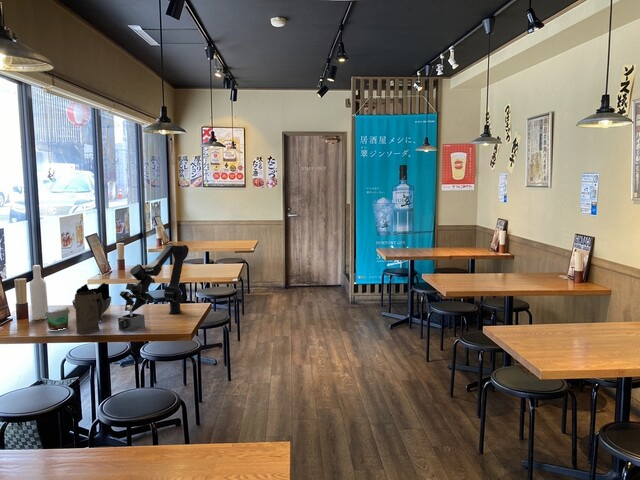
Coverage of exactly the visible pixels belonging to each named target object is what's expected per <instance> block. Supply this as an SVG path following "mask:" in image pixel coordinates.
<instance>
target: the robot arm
mask: <svg viewBox="0 0 640 480" xmlns="http://www.w3.org/2000/svg"><path fill="white" fill-rule="evenodd" d="M172 255H173V259H174V261H173V265H172V271H171V276H170V280H169V284H168V286H167V285H166V286H165V287H164V292H163V297H164V299H165V302H166V303H169V312H168V314H169V315H177V314H182V308H181V304H182V303H184V300H185V298H184V297H183V296H182V294H181V288H180V280H181V275H182V271H183V265H184V261H185V260H186V259H187V257H188V255H189V247H188V245H186V244H176V245H174V244H167V245H165V248H164V249H163V250H162V252H161V253H160V254H159V255H158V256H157V257H156V258H155V259H154V260H152V261H151V262H149V263H148V264H146V265H145V266H144V267H143V265H142V264H141V263H140V264H139V263H137V264H136V265H135V266H133V267H132V268H131V269H130V271H129V273H130V275H131V276H133V278H134V279H135V280H136V281H137V282H135V283H129V282H127V283H126V286H125V290H121V291H120V293H119V296H120V297H121V298H123V300H125V307H124V311H125V312H128V311H127V308H126V306H127V305H131V304H134V306H133V308H132V310H131V311H132V313H135V311H136V310H138V309H139V308H141V307H143V306H144V305H147V303H148V304H153V303H154V301H155V300H154V299H155V298H154V297H153V295H151V293H149V291H150V290H149V287H150V286H151V284H156V280H155V278H154V277H157V276H159V275H160V273H161V271H162V266H163V265H165V263H166V262H167V261H168V259H170V257H171V256H172ZM127 290H128V291H127ZM134 299H135V301H134Z"/></svg>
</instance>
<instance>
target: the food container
mask: <svg viewBox="0 0 640 480" xmlns="http://www.w3.org/2000/svg"><path fill="white" fill-rule="evenodd" d="M69 314H70V308H69V307H67V306H66V308H65V309H61V310H60V309H59V310H54V311H52V312H50V311H48V312H46V313H45V316H46V317H47V319H46V320H47V325H48V326H47V327H48V330H49V329H50V330H58V329H63V328H67V327H68V328H69ZM68 328H67V329H68Z"/></svg>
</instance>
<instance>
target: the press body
mask: <svg viewBox="0 0 640 480" xmlns="http://www.w3.org/2000/svg"><path fill="white" fill-rule="evenodd" d="M132 316H133V318H130V312H129V313H128V314H127V313H126V314H123V315H121V316H118V317H117V322H118V323H117V324H118V331H126V332H135V331H138V330H139V329H144V328H145V327H146V319H145V314H143V313H135V312H132Z"/></svg>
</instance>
